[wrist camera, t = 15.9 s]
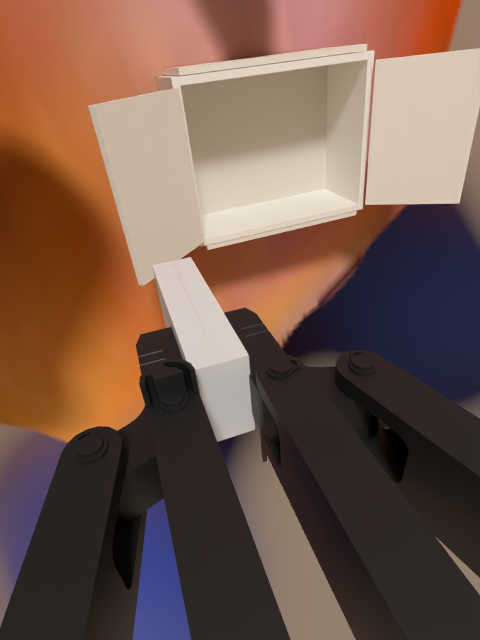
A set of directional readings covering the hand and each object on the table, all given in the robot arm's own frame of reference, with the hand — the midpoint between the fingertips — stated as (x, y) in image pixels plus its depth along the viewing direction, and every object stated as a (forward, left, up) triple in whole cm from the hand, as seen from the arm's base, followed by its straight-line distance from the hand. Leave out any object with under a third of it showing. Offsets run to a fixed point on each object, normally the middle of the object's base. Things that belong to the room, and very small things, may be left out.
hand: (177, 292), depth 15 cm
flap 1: (+2, 0, -18) cm, 18 cm away
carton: (+14, 0, -29) cm, 32 cm away
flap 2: (+27, 0, -18) cm, 32 cm away
